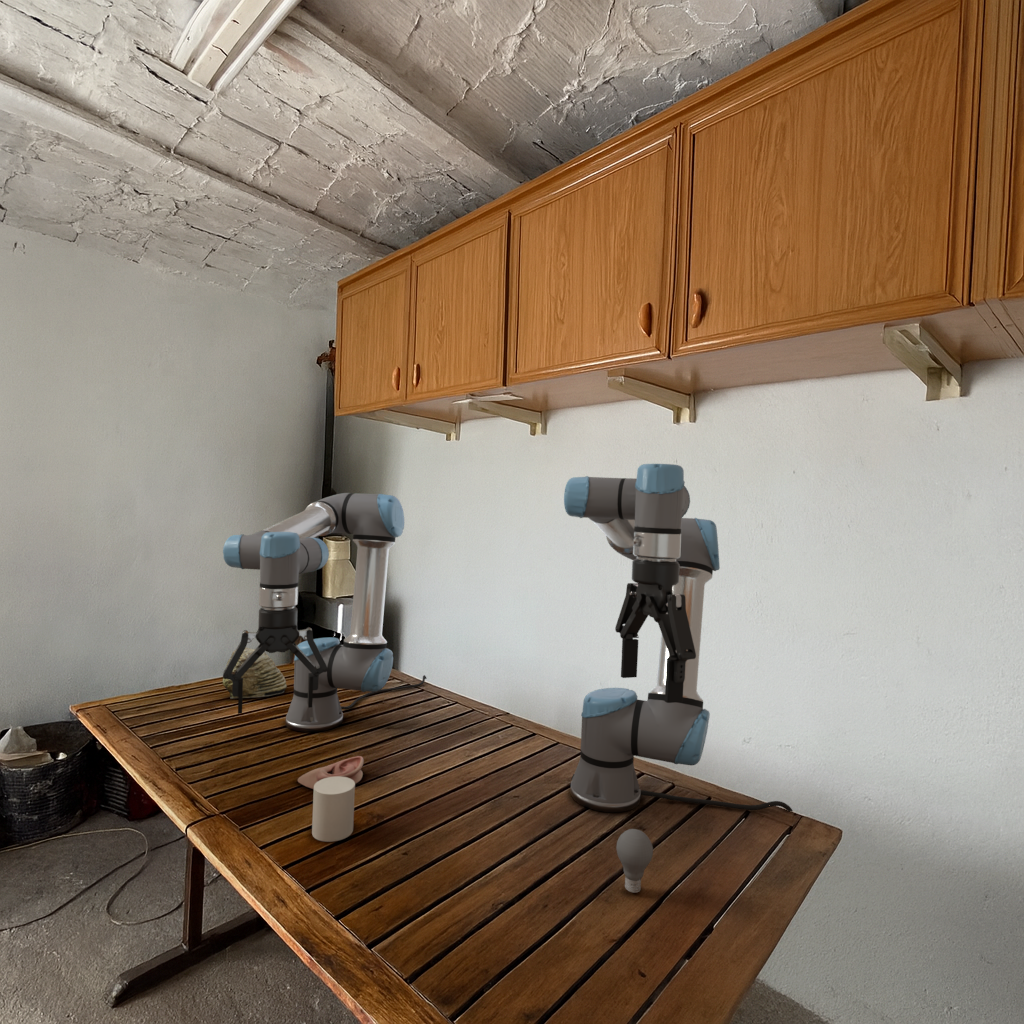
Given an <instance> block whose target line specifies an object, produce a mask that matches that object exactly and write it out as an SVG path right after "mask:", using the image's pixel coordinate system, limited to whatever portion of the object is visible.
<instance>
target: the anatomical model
mask: <svg viewBox="0 0 1024 1024" xmlns="http://www.w3.org/2000/svg"><path fill="white" fill-rule="evenodd" d="M363 766H364V757H363V756H361V755H356V756H352V757H347V758H346V759H342V760H340V761H336V762H334V763H331V764H328V765H326V766H322V767H318V768H315V769H312V770H310V771H308V772H306V773H304V774H302V775H300V776H299V777H298V778H297V782H298V784H300V785H302V786H304V787H306V788H309V789H312V790H314V785H315V783H316V782H318V781H319V780H321V779H324V778H328V777H335V776H341V777H347V778H350V779H352V780H353V781H354V782H355V785H356V784H358V783H359V782H360V781H361V780H362V779H363V775H364V773H363V771H362V768H363Z"/></svg>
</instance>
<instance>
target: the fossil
mask: <svg viewBox="0 0 1024 1024" xmlns="http://www.w3.org/2000/svg"><path fill="white" fill-rule="evenodd" d="M255 649H256V648H251V647H247V646H246V648H245V650H244V651H243V653H242V655H241V657H240V658H239V660H238V662H237V664H236V666H235V667H234V669H233V671H232V672H236V671H237V669H238V668H239V667H240V666H241V665H242V664H243V663H244V662H245V661H246V659H247V658H248V657H249V656H250V655H251V654H252V653H253V652H254V651H255ZM235 651H236V649H235V650H233V651H232V653H231V656H230V657H229V659H228V660H227V663H226V666H225V668H224V670H225V669H226V667H227V665H228V663H229V661H230V660H231V658H232V656H233V654H234V652H235ZM241 678H243V699H250V698H264V697H271V696H275V695H281V694H284V693H285V691H286V689H287V687H288V686H287V680H286V678H285V676H284V674H283V673H282V672H281V669H279V668H278V667H277V665H276V663H275V662H274V660H273V659H272V658H271V657H270V656H269V655H268V654H267V653H266V651H265V652H264V653H263V654H262V655H261V656H260V657H259V658H258V659H257V660H256V661H255V662H254V663H253V665H252V666H251V667H250V668H249V669H248V670H247V671H246V672H245V673H244V675H243V676H242V677H241ZM232 684H233V683H232V680H230V679H224V678H223V677H222V685H223V687H224V688H225V690H226V691H228V693H229V698H230V699H238V696H236V697H233V695H232Z"/></svg>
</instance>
